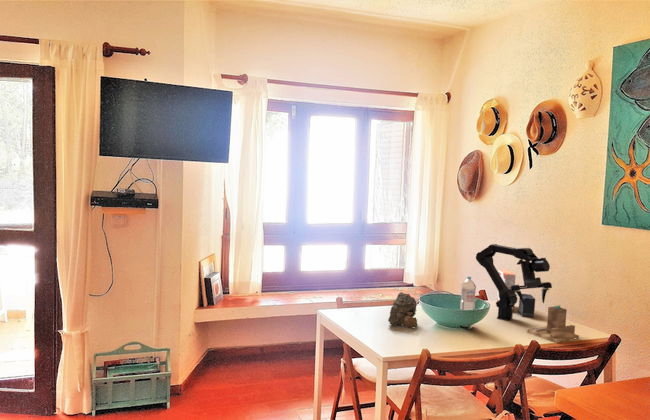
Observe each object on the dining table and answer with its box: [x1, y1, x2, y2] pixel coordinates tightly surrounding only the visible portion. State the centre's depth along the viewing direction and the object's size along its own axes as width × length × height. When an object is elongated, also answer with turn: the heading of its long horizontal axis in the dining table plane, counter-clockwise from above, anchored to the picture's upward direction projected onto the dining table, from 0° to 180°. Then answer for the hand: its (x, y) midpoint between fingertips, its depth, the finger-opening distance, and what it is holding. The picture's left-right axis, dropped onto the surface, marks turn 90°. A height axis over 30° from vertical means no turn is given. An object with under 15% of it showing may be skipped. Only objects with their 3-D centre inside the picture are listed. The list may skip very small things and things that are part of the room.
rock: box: [387, 292, 418, 328], centre depth 226 cm, size 18×14×15 cm
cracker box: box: [496, 269, 516, 311], centre depth 265 cm, size 14×6×21 cm, turn 174°
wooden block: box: [546, 304, 567, 333], centre depth 216 cm, size 6×6×13 cm
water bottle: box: [459, 276, 477, 329], centre depth 226 cm, size 7×7×25 cm
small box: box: [517, 293, 536, 318], centre depth 252 cm, size 11×6×10 cm, turn 168°
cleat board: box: [526, 324, 580, 343], centre depth 217 cm, size 16×16×6 cm
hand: (533, 303), depth 230 cm, fingers open, 9 cm apart
